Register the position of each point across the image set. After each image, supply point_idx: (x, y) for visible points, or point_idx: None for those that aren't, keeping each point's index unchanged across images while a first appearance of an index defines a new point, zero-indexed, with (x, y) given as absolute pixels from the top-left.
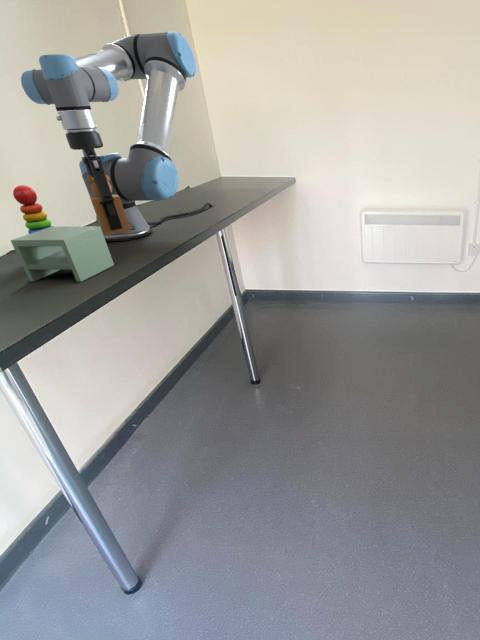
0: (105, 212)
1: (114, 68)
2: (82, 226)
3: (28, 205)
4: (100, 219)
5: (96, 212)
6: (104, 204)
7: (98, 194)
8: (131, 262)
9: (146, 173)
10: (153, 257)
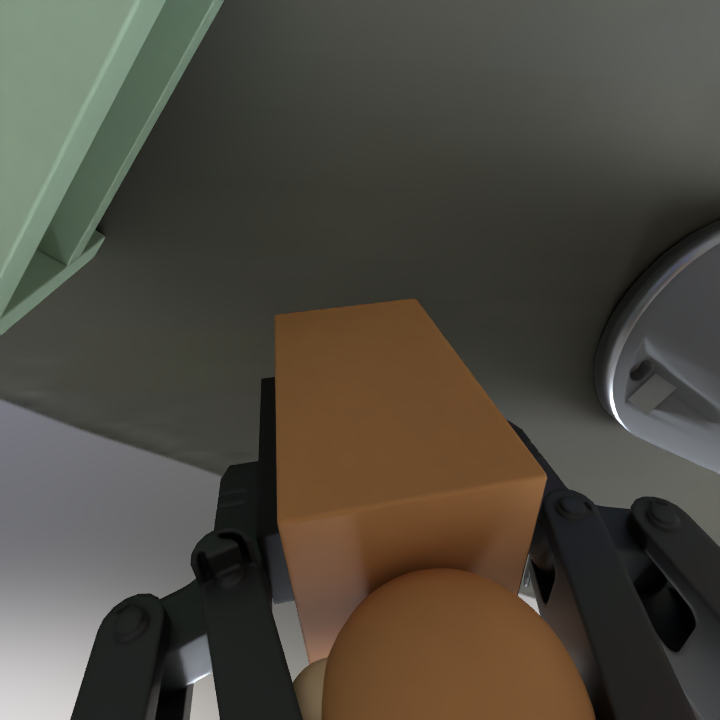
0: (260, 471)
1: None
2: (18, 214)
3: None
4: (278, 381)
5: (349, 398)
6: (259, 545)
7: (350, 623)
8: (116, 339)
9: None
10: (165, 427)
